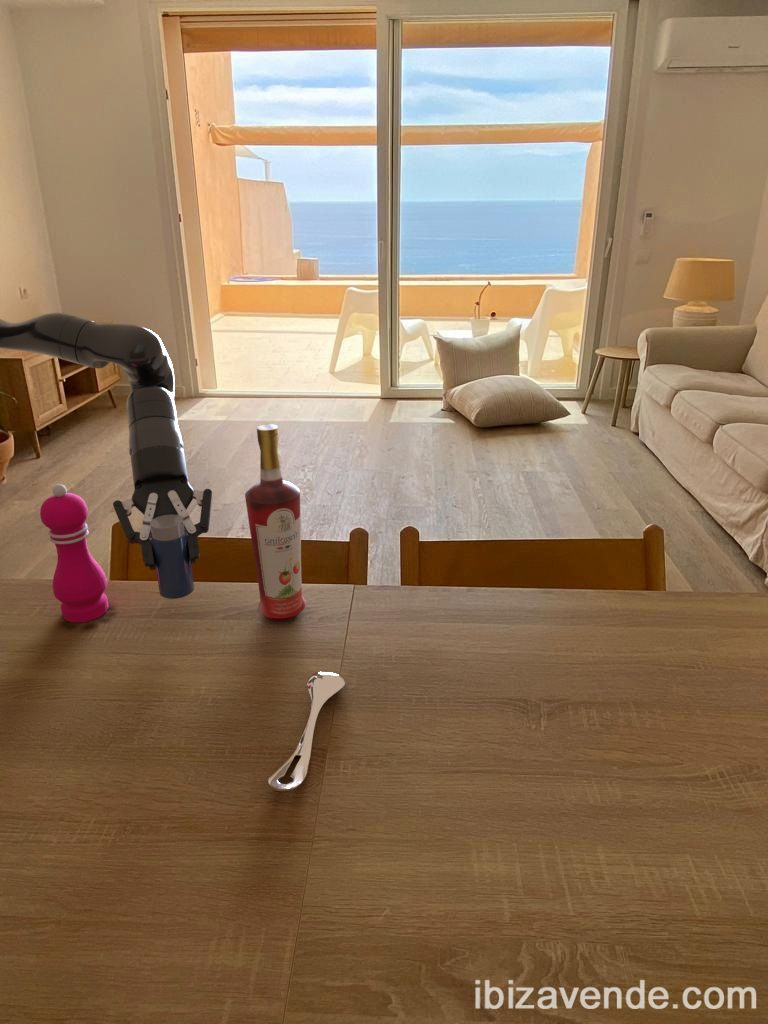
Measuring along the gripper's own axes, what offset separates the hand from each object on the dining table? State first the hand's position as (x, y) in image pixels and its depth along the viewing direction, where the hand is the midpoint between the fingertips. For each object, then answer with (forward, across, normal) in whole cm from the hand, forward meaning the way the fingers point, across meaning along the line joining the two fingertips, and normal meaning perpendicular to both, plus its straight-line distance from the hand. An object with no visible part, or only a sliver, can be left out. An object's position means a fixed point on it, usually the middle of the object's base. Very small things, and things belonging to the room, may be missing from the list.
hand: (172, 564), depth 96 cm
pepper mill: (+2, +13, -11) cm, 17 cm away
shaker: (+2, 0, -5) cm, 5 cm away
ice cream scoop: (+27, -12, +15) cm, 33 cm away
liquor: (+9, -14, -4) cm, 17 cm away
